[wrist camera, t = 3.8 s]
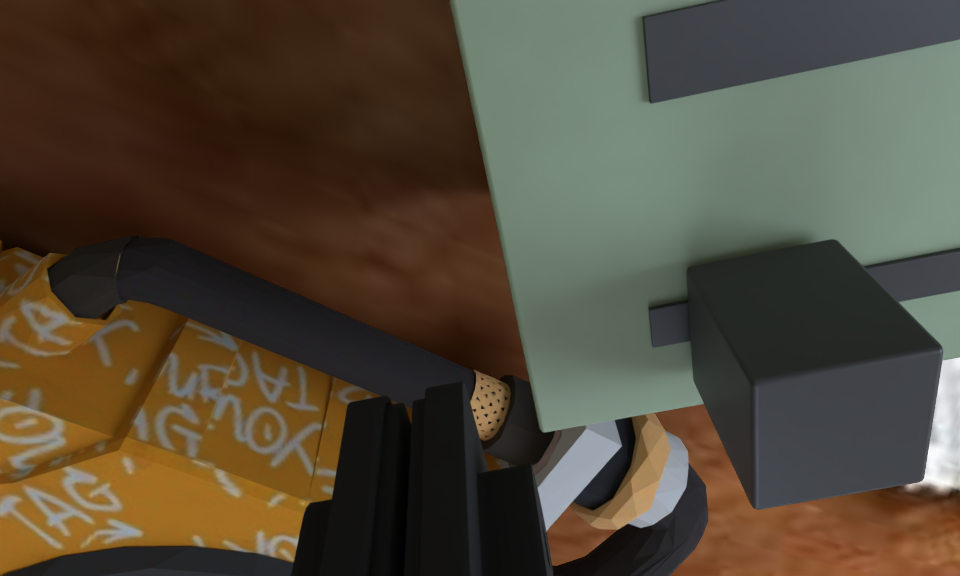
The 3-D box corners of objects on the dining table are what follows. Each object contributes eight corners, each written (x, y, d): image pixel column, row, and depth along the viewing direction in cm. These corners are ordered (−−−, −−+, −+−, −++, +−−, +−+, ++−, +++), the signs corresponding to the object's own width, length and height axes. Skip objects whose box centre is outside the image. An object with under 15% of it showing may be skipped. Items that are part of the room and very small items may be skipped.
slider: (684, 265, 12) (751, 382, 9) (836, 235, 12) (947, 347, 9) (691, 381, 13) (753, 513, 10) (829, 356, 13) (925, 484, 10)
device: (-553, 16, 12) (821, 574, 21) (-180, -49, 19) (724, 386, 28) (-480, 727, 22) (434, 902, 30) (-251, 507, 29) (435, 700, 37)
